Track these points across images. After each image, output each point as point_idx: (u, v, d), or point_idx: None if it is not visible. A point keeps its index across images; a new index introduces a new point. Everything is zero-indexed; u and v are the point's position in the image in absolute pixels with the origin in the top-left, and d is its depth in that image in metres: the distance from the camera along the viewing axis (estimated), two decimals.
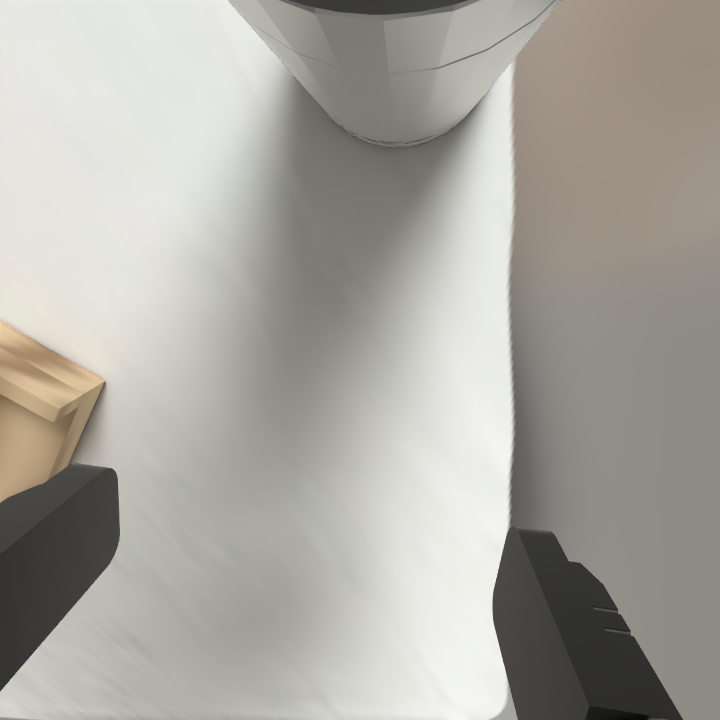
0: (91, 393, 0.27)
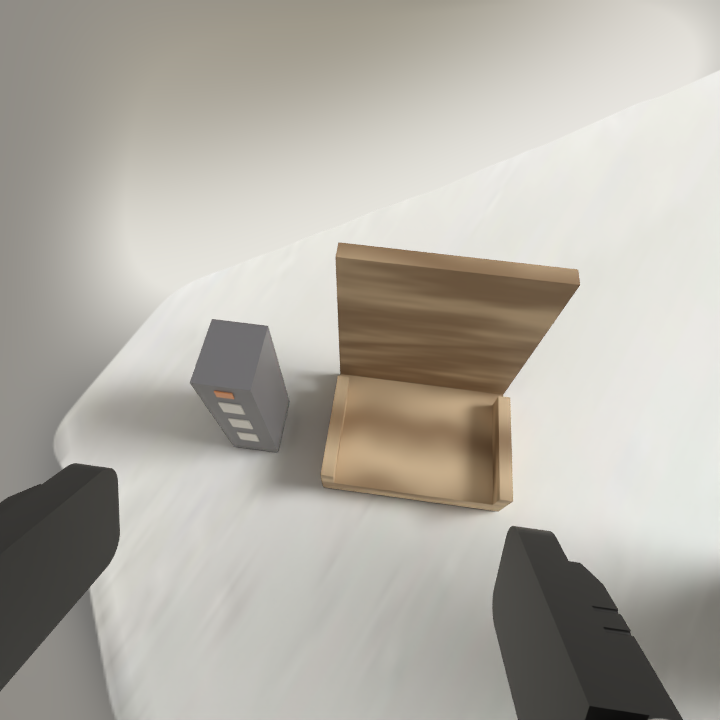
0: (496, 508, 0.38)
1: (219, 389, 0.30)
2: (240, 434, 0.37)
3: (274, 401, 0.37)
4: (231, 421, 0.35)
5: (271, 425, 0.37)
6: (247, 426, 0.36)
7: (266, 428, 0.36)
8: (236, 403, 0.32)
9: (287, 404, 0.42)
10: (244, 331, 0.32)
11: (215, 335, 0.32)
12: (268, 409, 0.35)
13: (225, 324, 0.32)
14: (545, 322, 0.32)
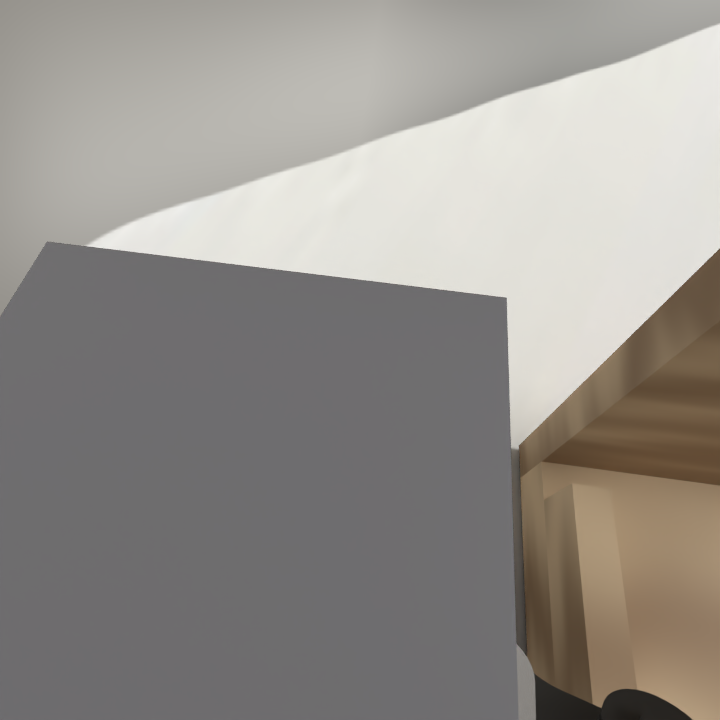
0: None
1: None
2: None
3: None
4: None
5: None
6: None
7: None
8: None
9: None
10: (315, 342, 0.04)
11: (45, 380, 0.03)
12: None
13: (152, 283, 0.04)
14: None
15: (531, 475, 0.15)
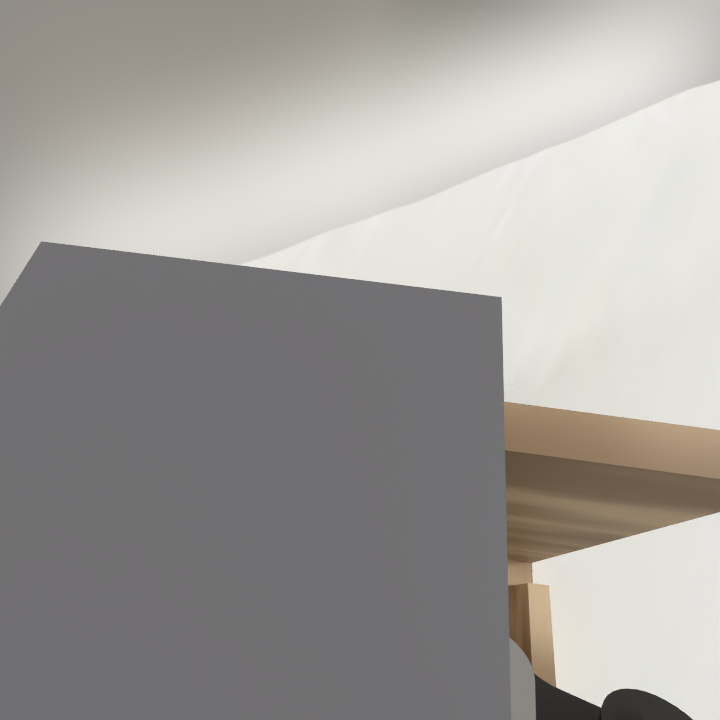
0: None
1: None
2: None
3: None
4: None
5: None
6: None
7: None
8: None
9: None
10: (309, 342, 0.04)
11: (40, 381, 0.03)
12: None
13: (145, 283, 0.04)
14: (660, 521, 0.14)
15: None
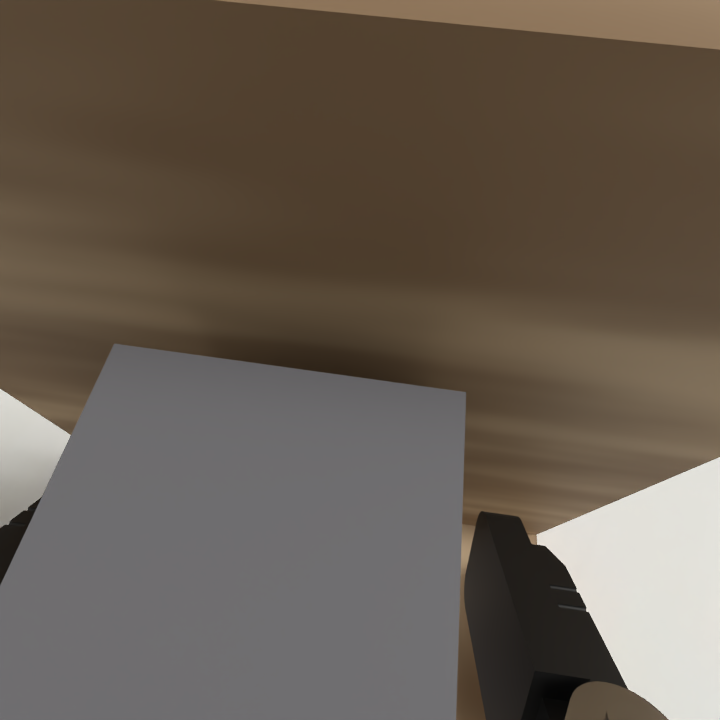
0: None
1: None
2: None
3: None
4: None
5: None
6: None
7: None
8: None
9: None
10: (319, 430, 0.05)
11: (121, 461, 0.05)
12: None
13: (195, 379, 0.05)
14: None
15: None
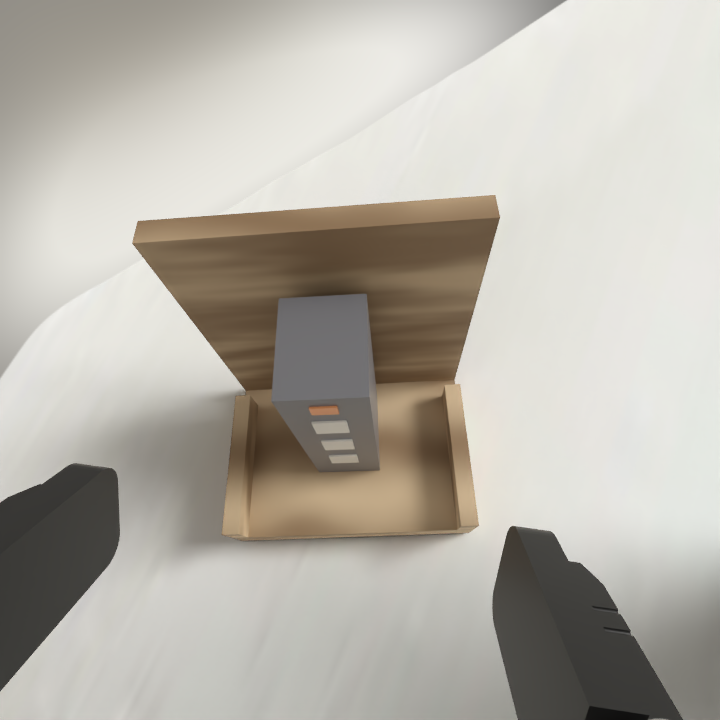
0: (464, 531, 0.29)
1: (318, 403, 0.19)
2: (333, 457, 0.27)
3: None
4: (325, 444, 0.24)
5: (376, 438, 0.26)
6: (347, 446, 0.25)
7: (374, 444, 0.25)
8: (339, 419, 0.21)
9: None
10: (333, 308, 0.20)
11: (290, 322, 0.20)
12: (374, 417, 0.24)
13: (301, 302, 0.21)
14: (471, 281, 0.22)
15: None
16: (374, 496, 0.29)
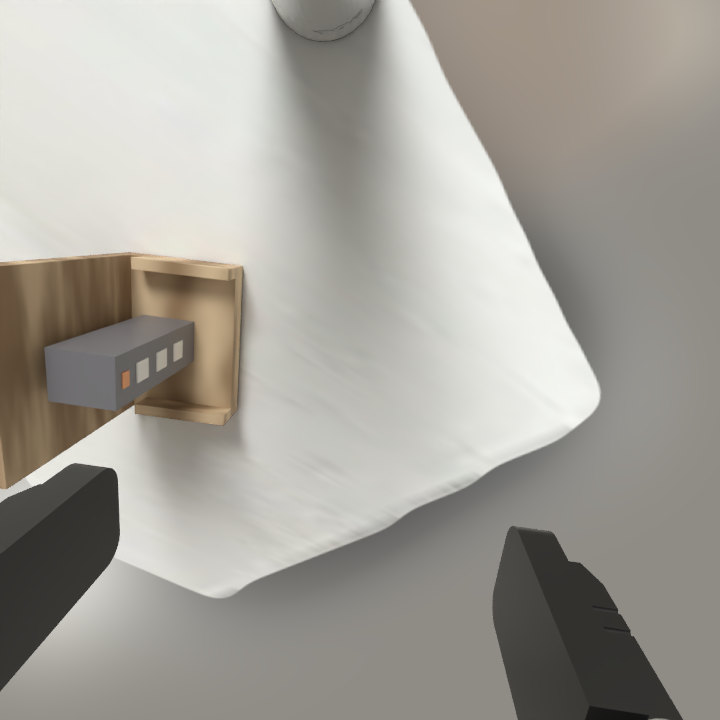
0: (238, 271, 0.43)
1: (119, 384, 0.32)
2: (175, 358, 0.41)
3: (137, 330, 0.38)
4: (160, 368, 0.38)
5: (162, 331, 0.39)
6: (164, 353, 0.38)
7: (163, 336, 0.38)
8: (135, 367, 0.34)
9: (146, 316, 0.43)
10: (55, 369, 0.32)
11: (65, 395, 0.33)
12: (143, 336, 0.37)
13: (51, 388, 0.32)
14: (35, 270, 0.31)
15: None
16: (211, 327, 0.44)
